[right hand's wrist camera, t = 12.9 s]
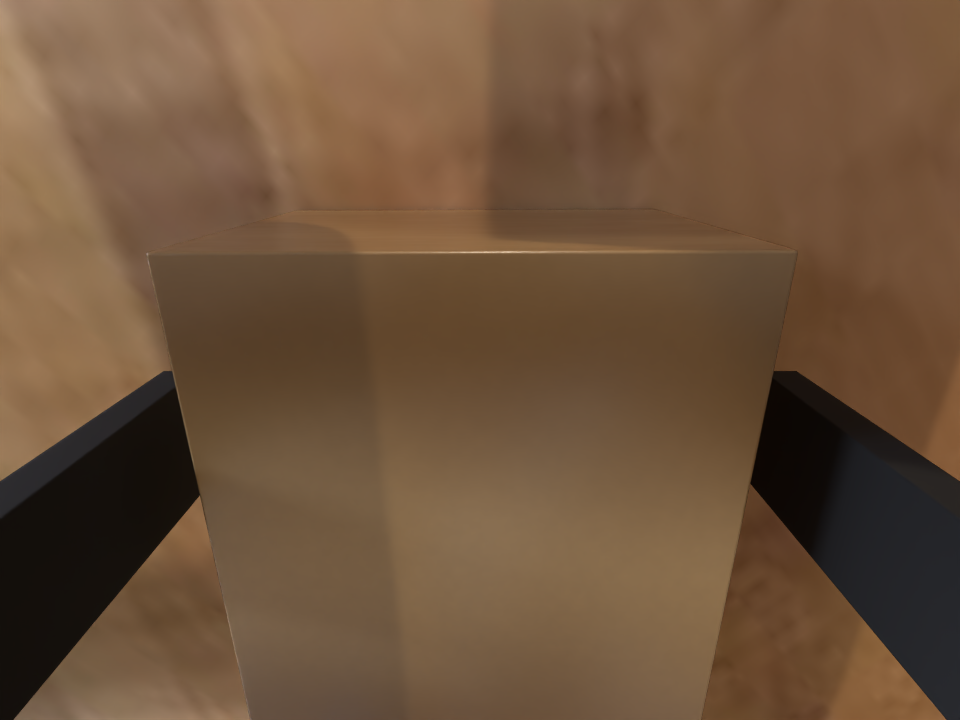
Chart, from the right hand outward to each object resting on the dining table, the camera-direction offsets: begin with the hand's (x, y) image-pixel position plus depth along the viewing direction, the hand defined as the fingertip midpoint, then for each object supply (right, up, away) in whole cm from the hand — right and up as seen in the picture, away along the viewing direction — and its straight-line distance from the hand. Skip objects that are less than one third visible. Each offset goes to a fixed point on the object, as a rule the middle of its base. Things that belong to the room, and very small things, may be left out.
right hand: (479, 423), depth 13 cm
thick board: (0, -21, +12) cm, 24 cm away
